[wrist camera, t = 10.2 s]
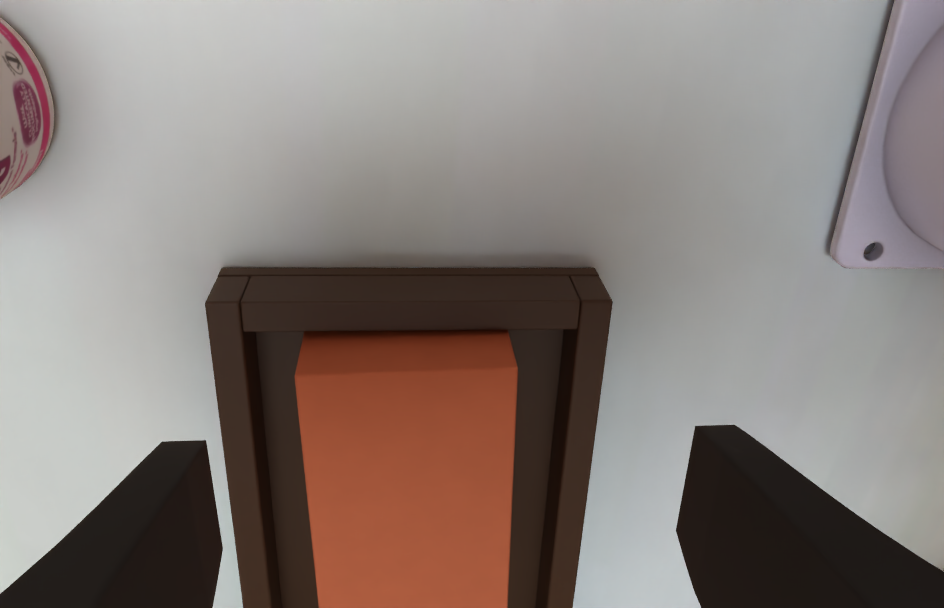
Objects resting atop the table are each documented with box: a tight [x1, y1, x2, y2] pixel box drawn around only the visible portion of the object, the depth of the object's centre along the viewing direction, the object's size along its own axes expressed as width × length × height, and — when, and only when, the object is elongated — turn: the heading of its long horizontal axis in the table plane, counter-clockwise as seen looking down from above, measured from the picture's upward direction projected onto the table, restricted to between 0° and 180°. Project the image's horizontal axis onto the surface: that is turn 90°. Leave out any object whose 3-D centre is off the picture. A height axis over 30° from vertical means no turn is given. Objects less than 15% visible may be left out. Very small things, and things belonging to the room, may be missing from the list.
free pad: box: [295, 330, 518, 608], centre depth 21 cm, size 5×8×3 cm, turn 179°
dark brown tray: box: [205, 268, 613, 608], centre depth 24 cm, size 10×20×2 cm, turn 178°
